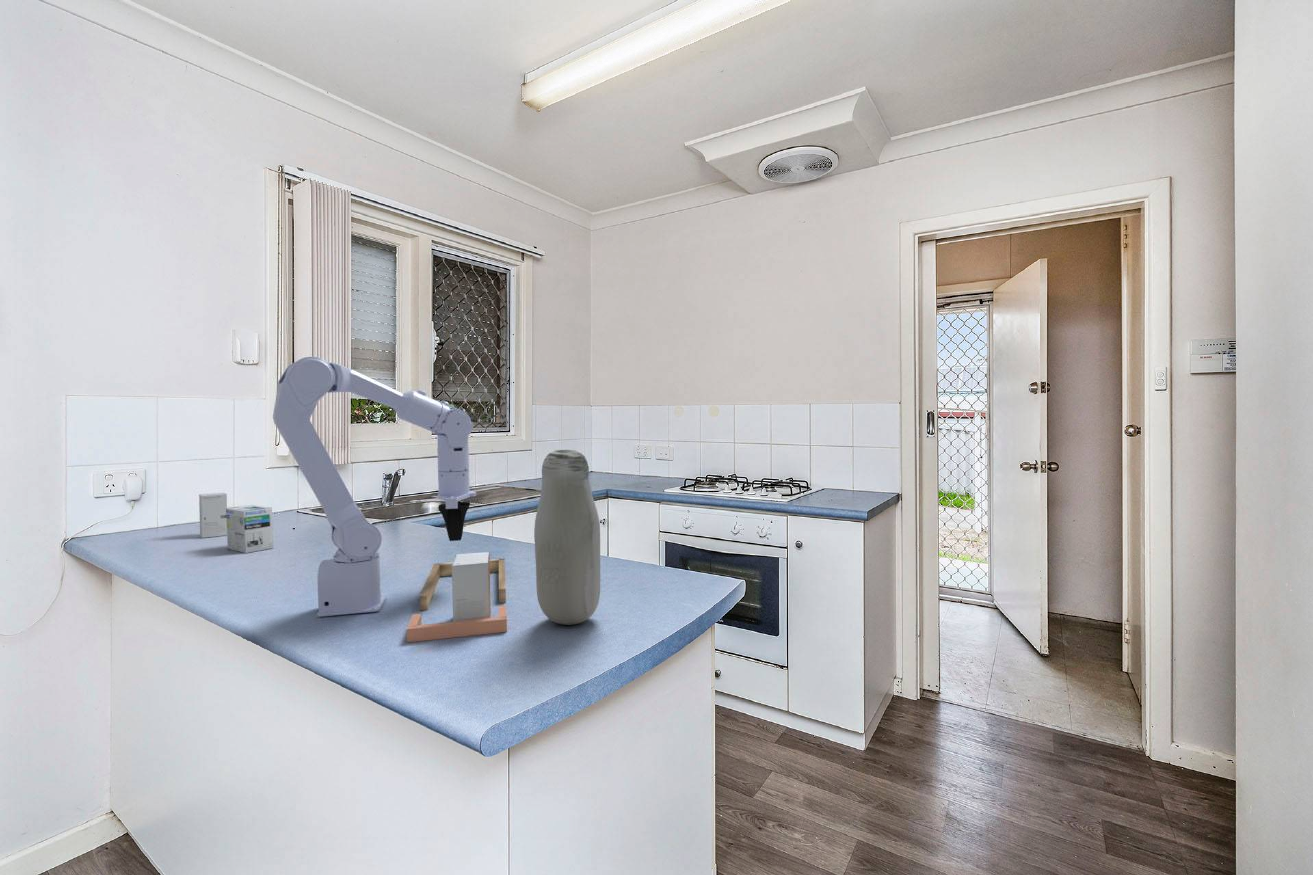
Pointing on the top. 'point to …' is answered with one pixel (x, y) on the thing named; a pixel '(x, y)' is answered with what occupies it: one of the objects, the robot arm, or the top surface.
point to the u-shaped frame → (446, 570)
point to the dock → (455, 627)
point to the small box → (471, 586)
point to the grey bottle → (567, 540)
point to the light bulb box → (249, 528)
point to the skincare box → (213, 514)
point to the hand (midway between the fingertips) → (455, 540)
